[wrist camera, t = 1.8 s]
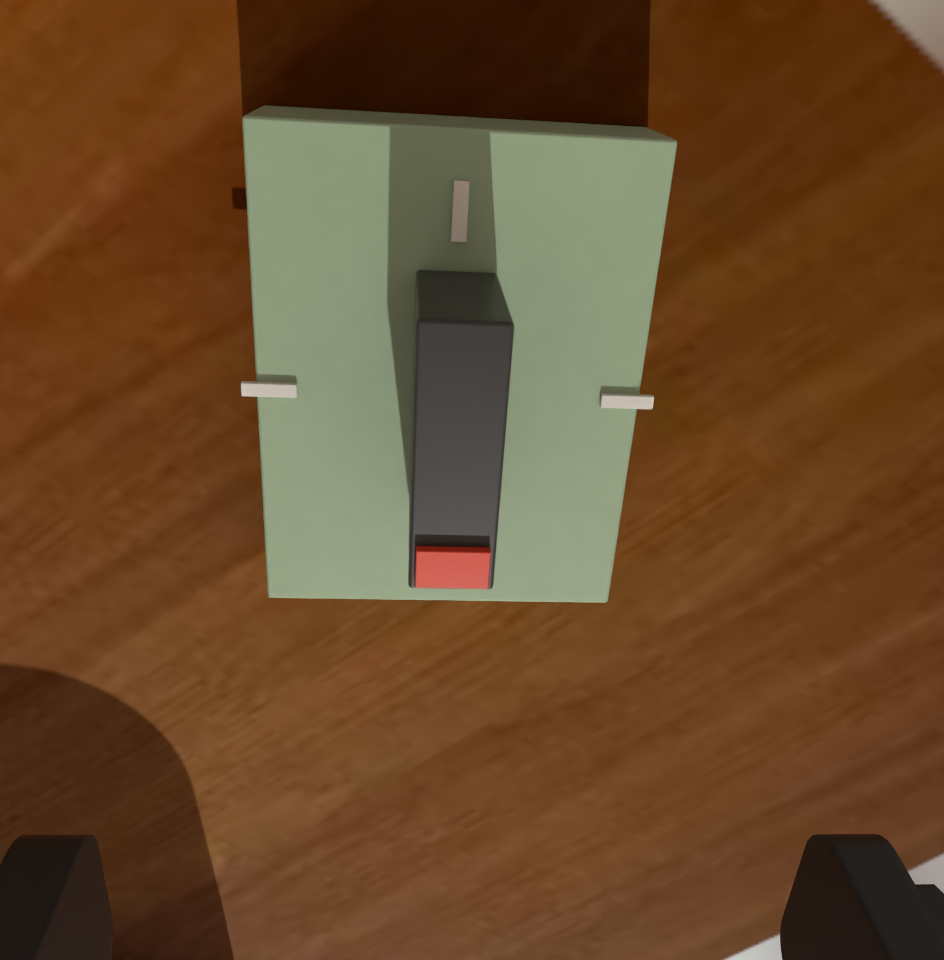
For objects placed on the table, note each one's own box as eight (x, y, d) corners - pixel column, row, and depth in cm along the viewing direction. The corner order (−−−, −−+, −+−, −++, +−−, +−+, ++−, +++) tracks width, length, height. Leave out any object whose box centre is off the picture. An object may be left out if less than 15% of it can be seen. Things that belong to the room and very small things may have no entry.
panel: (247, 104, 23) (223, 114, 20) (661, 127, 23) (695, 141, 21) (270, 544, 28) (254, 601, 26) (600, 551, 29) (620, 607, 26)
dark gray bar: (416, 268, 22) (416, 322, 18) (498, 272, 22) (516, 326, 18) (408, 503, 25) (408, 595, 21) (481, 505, 25) (493, 596, 21)
